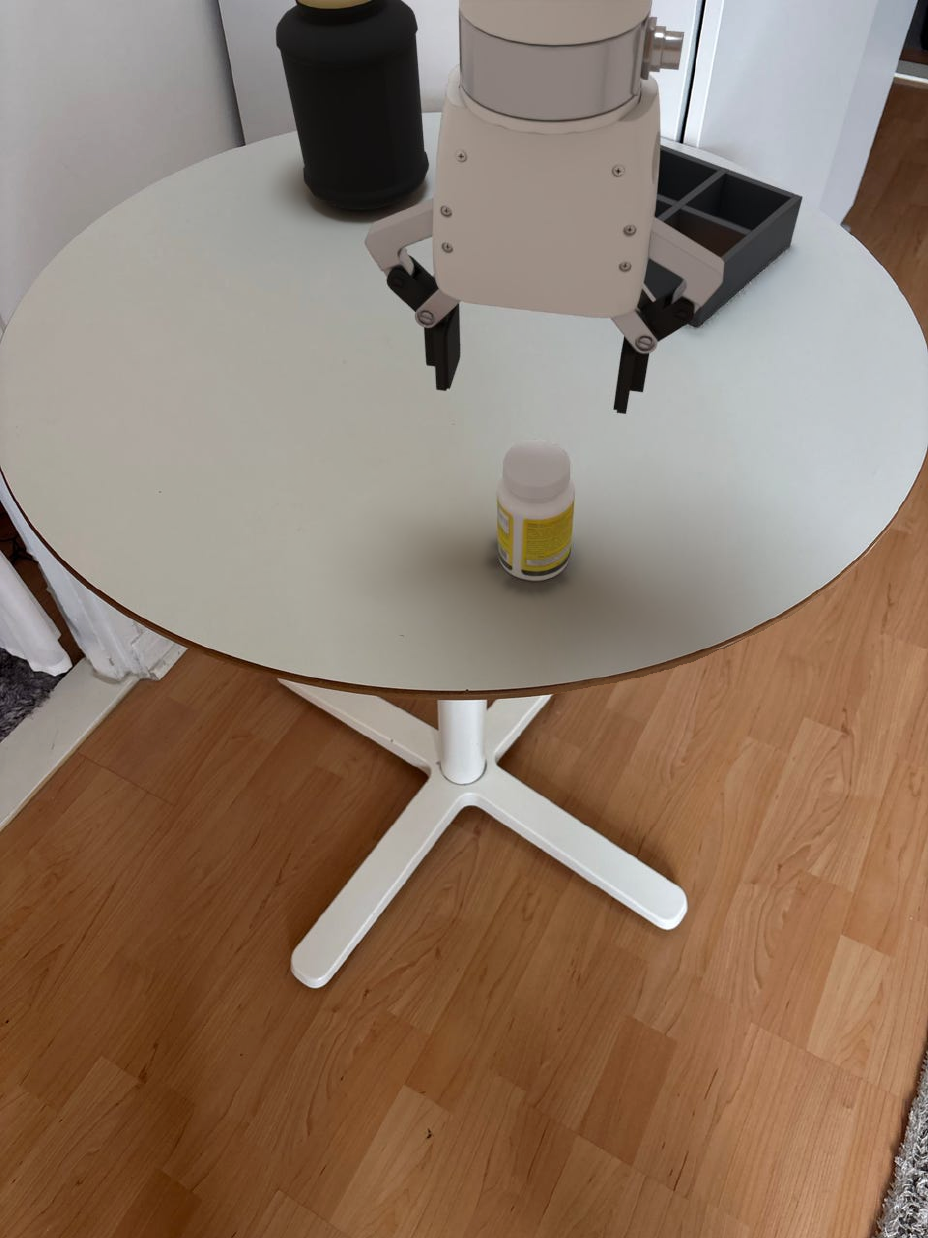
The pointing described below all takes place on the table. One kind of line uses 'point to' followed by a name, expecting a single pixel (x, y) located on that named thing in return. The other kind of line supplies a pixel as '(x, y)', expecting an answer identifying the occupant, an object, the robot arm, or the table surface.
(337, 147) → the container
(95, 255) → the table surface
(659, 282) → the box
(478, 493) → the table surface
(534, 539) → the supplement bottle
